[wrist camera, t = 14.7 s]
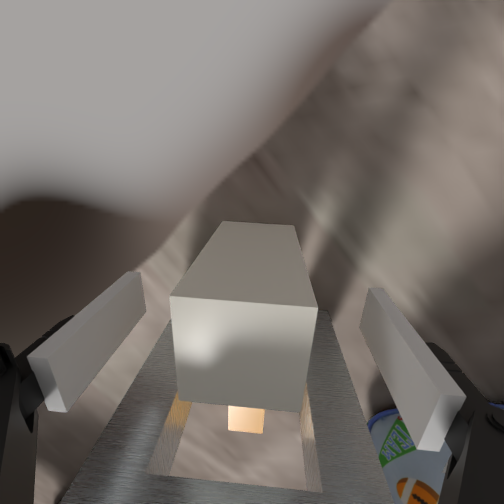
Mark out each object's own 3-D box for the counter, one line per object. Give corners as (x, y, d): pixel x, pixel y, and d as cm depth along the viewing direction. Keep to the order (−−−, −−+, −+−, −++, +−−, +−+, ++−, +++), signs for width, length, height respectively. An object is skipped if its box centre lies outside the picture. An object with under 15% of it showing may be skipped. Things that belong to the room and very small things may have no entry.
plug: (274, 403, 29) (276, 560, 18) (222, 397, 29) (192, 549, 18) (293, 225, 21) (318, 307, 10) (222, 220, 21) (169, 296, 10)
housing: (184, 334, 26) (18, 680, 9) (181, 300, 25) (-23, 640, 8) (321, 344, 25) (425, 746, 8) (327, 310, 24) (467, 714, 7)
